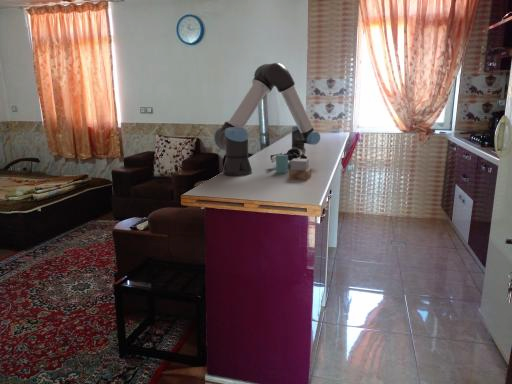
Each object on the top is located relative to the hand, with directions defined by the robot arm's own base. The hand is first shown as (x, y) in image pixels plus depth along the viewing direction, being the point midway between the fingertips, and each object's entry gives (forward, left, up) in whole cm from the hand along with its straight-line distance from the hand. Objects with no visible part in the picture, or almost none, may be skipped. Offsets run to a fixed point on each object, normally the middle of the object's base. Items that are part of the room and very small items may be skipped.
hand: (284, 160), depth 210 cm
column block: (-1, -3, -6) cm, 6 cm away
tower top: (+11, -13, -2) cm, 17 cm away
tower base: (+11, -13, -6) cm, 18 cm away
